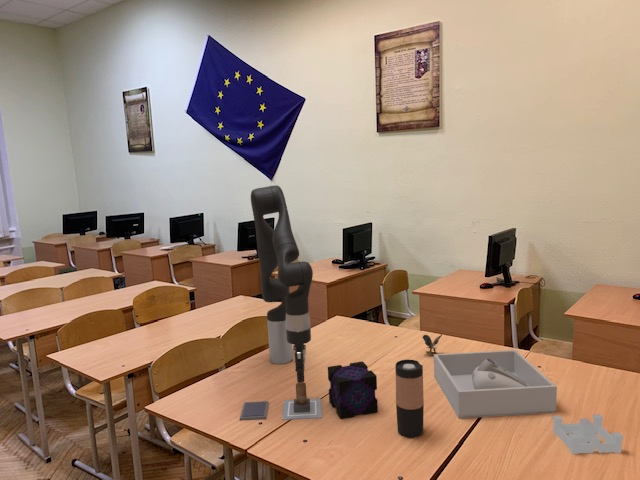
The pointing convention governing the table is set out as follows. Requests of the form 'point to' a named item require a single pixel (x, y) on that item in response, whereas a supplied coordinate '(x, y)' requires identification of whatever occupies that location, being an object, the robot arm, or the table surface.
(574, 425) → the castle model
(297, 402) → the stamp
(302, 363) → the robot arm
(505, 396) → the grey open tray
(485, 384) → the grey curved piece
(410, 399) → the travel mug
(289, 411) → the mat
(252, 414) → the pad
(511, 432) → the table surface
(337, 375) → the energy cube
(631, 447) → the table surface
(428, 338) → the eagle figurine
